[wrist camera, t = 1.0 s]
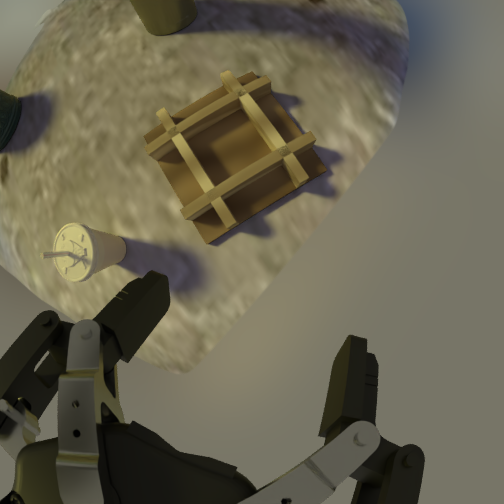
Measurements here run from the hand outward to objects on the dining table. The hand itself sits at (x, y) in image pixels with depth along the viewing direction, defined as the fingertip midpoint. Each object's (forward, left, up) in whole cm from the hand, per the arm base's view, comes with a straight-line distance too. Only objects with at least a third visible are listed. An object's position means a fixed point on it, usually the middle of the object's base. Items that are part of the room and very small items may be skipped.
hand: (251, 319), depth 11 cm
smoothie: (-12, -15, -22) cm, 29 cm away
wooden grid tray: (-14, +5, -22) cm, 26 cm away
